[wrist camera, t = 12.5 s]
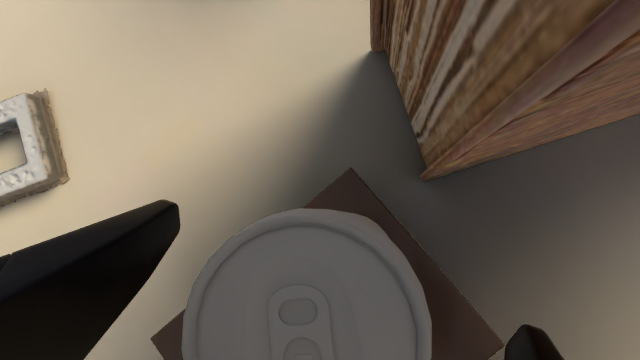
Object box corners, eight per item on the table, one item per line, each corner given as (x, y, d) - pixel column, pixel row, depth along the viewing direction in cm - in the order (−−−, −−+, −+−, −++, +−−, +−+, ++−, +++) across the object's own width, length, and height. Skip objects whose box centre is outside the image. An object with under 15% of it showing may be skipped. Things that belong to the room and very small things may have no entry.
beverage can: (306, 314, 18) (180, 489, 7) (296, 218, 19) (166, 220, 7) (403, 307, 18) (459, 489, 6) (391, 208, 18) (420, 193, 6)
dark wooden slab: (295, 471, 22) (277, 528, 18) (181, 310, 24) (142, 328, 20) (481, 321, 21) (505, 345, 17) (348, 167, 23) (342, 157, 19)
